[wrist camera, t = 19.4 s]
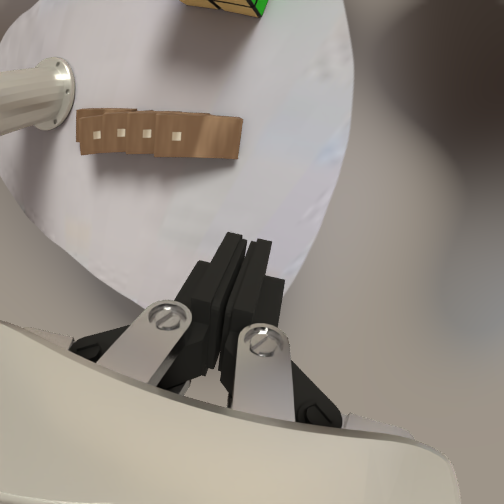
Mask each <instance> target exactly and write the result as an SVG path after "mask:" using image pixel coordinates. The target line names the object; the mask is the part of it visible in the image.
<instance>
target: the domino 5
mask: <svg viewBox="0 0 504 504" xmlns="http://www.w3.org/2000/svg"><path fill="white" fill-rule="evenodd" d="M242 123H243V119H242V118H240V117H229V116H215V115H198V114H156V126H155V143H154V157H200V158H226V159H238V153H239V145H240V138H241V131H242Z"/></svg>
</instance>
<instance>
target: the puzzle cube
mask: <svg viewBox="0 0 504 504" xmlns="http://www.w3.org/2000/svg"><path fill="white" fill-rule="evenodd" d="M179 1H181V2H183V3H184V4H186V5H190V6H198V7H205V8H212V9H218V10H219V9H221V8H222V9H223V10H224V11H229V12H235V13H240V14H244V15H249V16H253V17H258V18H259V17H261V16H262V15H263V12H264V9H265V7H266V4H267V2H268V0H179Z"/></svg>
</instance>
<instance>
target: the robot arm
mask: <svg viewBox="0 0 504 504" xmlns="http://www.w3.org/2000/svg"><path fill="white" fill-rule="evenodd" d="M74 92H75V81H74V76H73V72H72V70H71V68H70V66H69V64H68V63H67V62H66V61H65V60H63V59H61V58H58V57H51V58H46V59H44V60H43V61H41V62H40V63H39V64H38V65H37V66H36V67H35V68H28V69H20V70H12V71H5V72H0V136H2V135H5V134H8V133H11V132H14V131H17V130H20V129H23V128H26V127H29V126H33V125H34V126H35V127H36V128H38V129H40V130H45V131H46V130H51V129H54V128H56V127H58V126H59V125H60V124H61V123H62V122H63V121H64V120H65V119H66V117H67V116H68V114H69V112H70V109H71V107H72V104H73V99H74ZM246 245H247V240H245V239H242V235H240V234H235V233H231V232H227V234H226V236H225V237H224V239H223V241H222V243H221V245H220V246H219V248H218V250H217V252H216V254H215V255H214V257H213V259H212V261H211V263H209V262H205V261H198V262H197V264H196V265H195V267H194V269H193V270H192V272H191V273H190V275H189V277H188V278H187V280H186V282H185V283H184V285H183V287H182V288H181V290H180V291H179V293H178V295H177V296H176V298H175V300H174V301H173V300H163V301H158V302H155V303H153V304H151V305H150V306H148V307H147V308H146V309H145V310H144V311H143V313H142V314H141V315H140V316H139V317H138V318H137V319H136V320H135V321H134V322H133V323H132V324H131V325H128V326H124V327H120V328H117V329H113V330H110V331H106V332H102V333H98V334H94V335H91V336H87V337H83V338H81V339H79V340H77V341H74V338H73V337H70V336H65V335H61V334H56V333H52V332H47V331H44V330H39V329H35V328H31V327H24V328H21V327H19V326H16V325H14V324H11V323H8V322H5V321H1V320H0V504H462V503H461V497H460V490H459V485H458V480H457V477H456V473H455V470H454V468H453V466H452V464H451V462H450V461H449V459H448V458H447V457H446V456H445V455H444V454H443V453H441V452H440V451H438V450H437V449H435V448H433V447H431V446H429V445H427V444H424V443H422V442H419V441H416V440H415V439H414V437H413V435H412V434H411V433H410V432H409V431H408V430H406V429H403V428H401V427H397V426H393V425H390V424H386V423H382V422H379V421H375V420H372V419H369V418H365V417H362V416H359V415H356V414H352V413H349V415H345V414H342V413H340V411H339V410H338V408H337V407H336V406H335V405H334V404H333V403H332V401H330V399H328V398H327V396H326V395H325V394H324V393H323V392H322V391H321V390H320V389H319V388H318V387H317V386H316V385H315V384H314V383H313V382H312V381H311V380H310V379H309V378H308V377H307V376H306V375H305V374H304V373H303V372H302V371H301V370H300V369H299V368H298V366H297V365H296V364H295V363H294V362H293V361H292V360H291V355H290V344H289V340H288V337H287V336H286V335H285V333H284V332H283V331H281V330H280V329H279V328H278V321H279V316H280V309H281V303H282V297H283V290H284V284H285V280H283V279H279V278H274V277H270V276H265V273H266V269H267V264H268V259H269V254H270V250H271V245H272V241H267V240H263V239H257V242H254V241H251V243H250V245H249V248H248V251H247V253H246V256H245V251H246ZM219 353H220V358H219V367H218V371H221V378H220V381H221V383H222V384H223V385H224V387H225V388H226V390H227V391H228V392H229V394H228V400H227V408H225V407H221V406H217V405H213V404H210V403H206V402H203V401H199V400H196V399H192V398H189V397H185V396H184V394H185V393H186V391H187V389H188V388H189V386H190V384H191V379H194V378H196V377H198V376H201V375H202V376H206V373H207V370H208V368H210V369H214V367H215V364H216V361H217V359H218V356H219Z"/></svg>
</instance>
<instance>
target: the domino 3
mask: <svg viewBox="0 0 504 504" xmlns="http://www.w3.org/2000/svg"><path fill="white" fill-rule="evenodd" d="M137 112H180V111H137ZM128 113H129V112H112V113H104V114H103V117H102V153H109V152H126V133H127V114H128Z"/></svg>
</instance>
